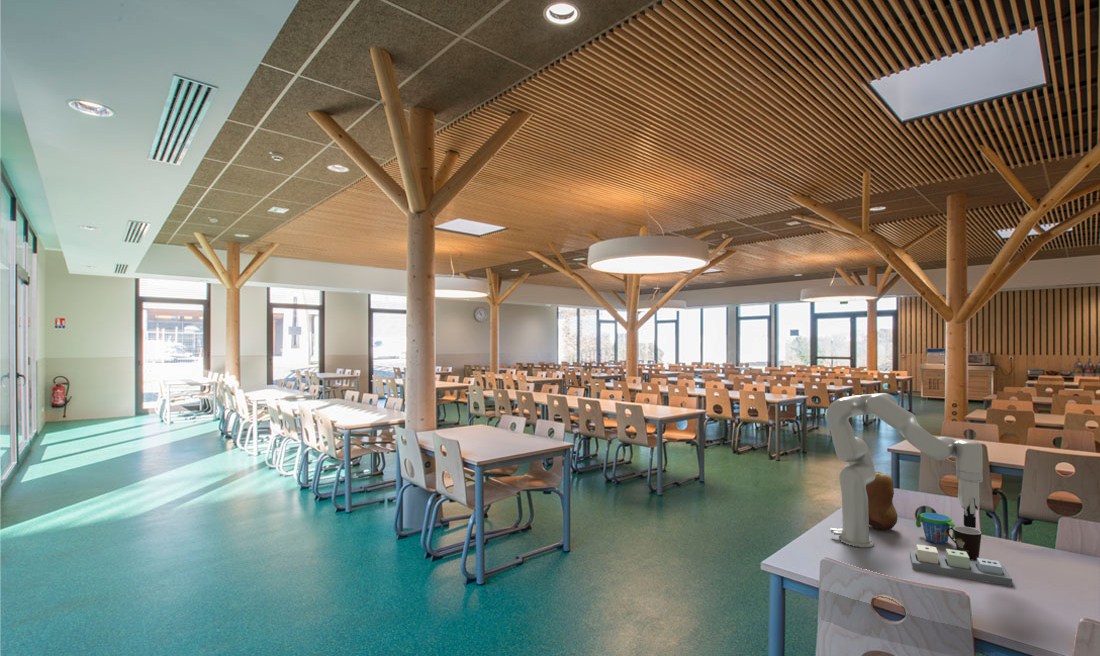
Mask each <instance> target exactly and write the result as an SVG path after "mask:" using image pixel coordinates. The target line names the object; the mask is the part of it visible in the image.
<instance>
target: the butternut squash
mask: <svg viewBox="0 0 1100 656" xmlns="http://www.w3.org/2000/svg"><path fill="white" fill-rule="evenodd" d="M875 474H876V476H875V480H874V481H873V482H872V483H871V484H869V485H867V486H866V492H867V496H868V513H869V527H870V526H871V527H872V528H874V529H875V530H877V529H878V530H879V531H882V530H883V531H889V530H891V529H893V528H894V527H895V526H896V525H897V523H898V513H897V510H896V507H895V505H894V503H893V498H894V495H895V492H894V488H895V487H894V481H893V478H892V477H891V476H890V475H889V474H887V473H885V472H882V471H878V470H875ZM883 531H882V532H883Z"/></svg>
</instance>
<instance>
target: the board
mask: <svg viewBox="0 0 1100 656" xmlns="http://www.w3.org/2000/svg"><path fill="white" fill-rule="evenodd" d="M909 558H910V559H909V560H910V563H911V566H912V570H915V571H921V572H927V573H932V574H939V575H944V576H951V577H956V578H963V579H967V580H975V581H979V582H986V583H991V584H999V585H1003V586H1008V587H1010V586H1011V587H1013V578H1012V576H1011V574H1010V573H1009V572H1008V570H1007V569H1006V566H1005V565H1003V564H1000V565H1001V566H1002V574H1003V575H1000V574H994V573H988V572H982V571H979V570H978V568H977V560H970V559H969V562H970V569H966V568H960V567H954V566H949V565H948V563H947V560H946V556H944V555H943V556H942V555H938V564H936V563H929V562H923V561H918V557H917V551H911V550H910V551H909Z"/></svg>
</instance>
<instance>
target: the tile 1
mask: <svg viewBox="0 0 1100 656" xmlns="http://www.w3.org/2000/svg"><path fill="white" fill-rule="evenodd" d="M916 552H917V557H918V561H923V562H929V563H936V564H938V556H939V552H938V550H937V546H936V547H935V546H930V545H923V544H918V543H917V544H916Z"/></svg>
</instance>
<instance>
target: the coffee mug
mask: <svg viewBox="0 0 1100 656" xmlns="http://www.w3.org/2000/svg"><path fill="white" fill-rule="evenodd" d="M950 530H953V531H954V536H955V539H953V538H952V535H951V534H950ZM953 531H952V532H953ZM947 534H948V535H949V537H948V538H950V540H951V541H952V542H954V544H955V546H956V547H955V548H956V550H958V551H965V552H967V554H968V556H969V560H970V561H977V558H980V549H981V540H982V531H981V530H979V529H977V528H971V527H965V526H959V525H958V526H955V527H954V528H951V527H950V528H948V529H947Z"/></svg>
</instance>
